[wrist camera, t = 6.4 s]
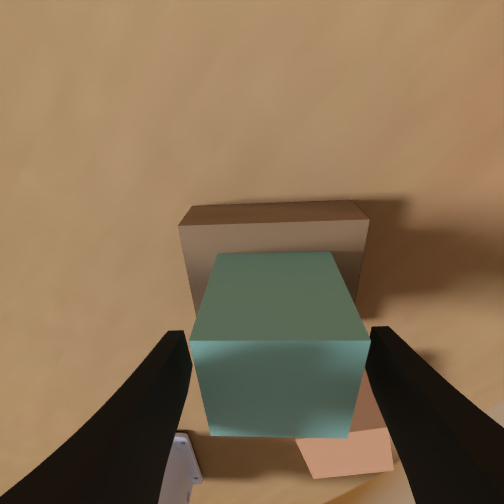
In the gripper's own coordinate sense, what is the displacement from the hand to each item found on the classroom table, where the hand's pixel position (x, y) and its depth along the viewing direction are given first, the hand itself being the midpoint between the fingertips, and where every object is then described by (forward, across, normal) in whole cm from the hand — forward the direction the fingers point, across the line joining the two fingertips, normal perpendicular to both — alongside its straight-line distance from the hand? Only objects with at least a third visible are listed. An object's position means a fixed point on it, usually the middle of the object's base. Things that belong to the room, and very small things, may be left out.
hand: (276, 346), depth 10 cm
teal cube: (+3, 0, 0) cm, 3 cm away
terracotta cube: (+6, -4, +10) cm, 12 cm away
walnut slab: (+6, 0, 0) cm, 6 cm away
